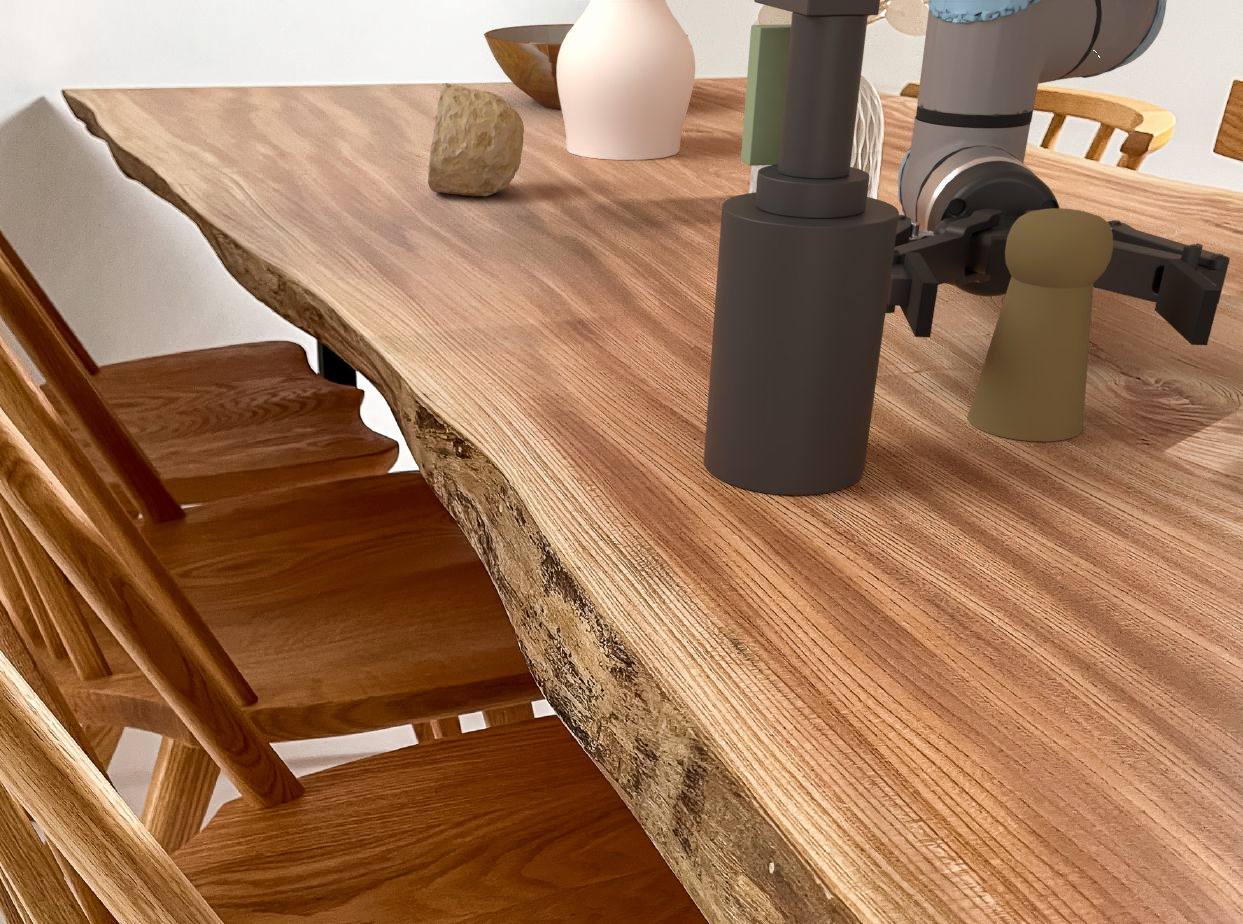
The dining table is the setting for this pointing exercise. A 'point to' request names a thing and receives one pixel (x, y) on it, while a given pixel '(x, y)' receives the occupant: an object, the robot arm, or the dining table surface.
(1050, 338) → the cork
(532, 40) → the bowl
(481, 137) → the tan rough stone lump
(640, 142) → the vase
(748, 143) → the sage green tall block
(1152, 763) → the dining table surface
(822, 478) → the spray bottle
